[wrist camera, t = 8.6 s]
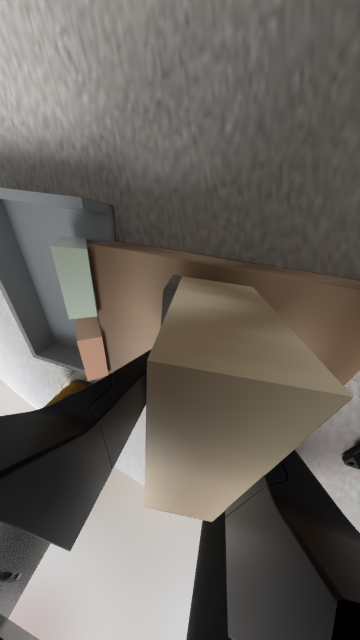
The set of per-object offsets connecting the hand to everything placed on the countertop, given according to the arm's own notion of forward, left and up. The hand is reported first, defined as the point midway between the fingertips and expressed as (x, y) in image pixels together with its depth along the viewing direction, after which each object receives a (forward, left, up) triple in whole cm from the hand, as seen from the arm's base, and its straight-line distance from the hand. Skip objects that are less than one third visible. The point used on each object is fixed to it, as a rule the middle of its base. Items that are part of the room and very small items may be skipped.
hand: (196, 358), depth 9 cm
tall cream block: (0, 0, 0) cm, 0 cm away
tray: (+12, 0, -4) cm, 12 cm away
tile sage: (+8, -3, -2) cm, 9 cm away
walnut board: (0, 0, -4) cm, 4 cm away
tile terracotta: (+8, +3, -2) cm, 9 cm away
